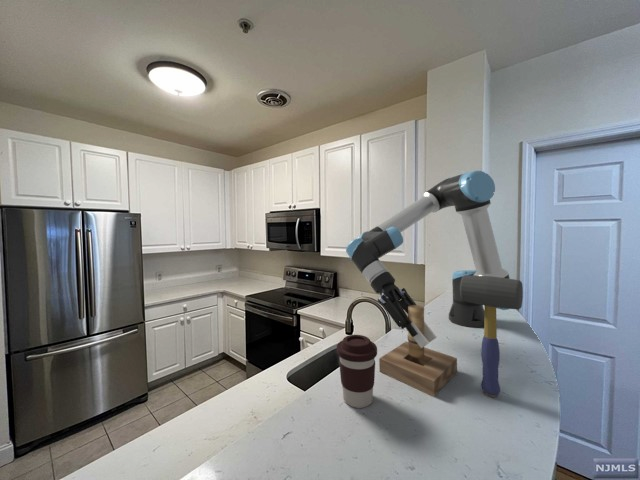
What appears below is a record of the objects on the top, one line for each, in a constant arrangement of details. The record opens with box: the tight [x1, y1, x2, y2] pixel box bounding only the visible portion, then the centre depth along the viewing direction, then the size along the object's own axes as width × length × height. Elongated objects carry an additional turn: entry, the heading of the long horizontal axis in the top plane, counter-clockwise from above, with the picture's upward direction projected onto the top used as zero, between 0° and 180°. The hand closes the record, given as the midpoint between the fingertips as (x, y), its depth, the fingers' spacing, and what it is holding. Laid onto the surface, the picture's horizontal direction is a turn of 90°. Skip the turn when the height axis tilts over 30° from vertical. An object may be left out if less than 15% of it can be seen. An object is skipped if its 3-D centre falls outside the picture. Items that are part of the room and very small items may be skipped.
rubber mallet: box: [460, 275, 524, 398], centre depth 62 cm, size 12×8×30 cm, turn 45°
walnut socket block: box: [378, 340, 458, 398], centre depth 74 cm, size 16×16×4 cm
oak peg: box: [407, 304, 425, 358], centre depth 73 cm, size 5×5×14 cm
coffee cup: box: [336, 334, 378, 409], centre depth 62 cm, size 10×10×15 cm
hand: (429, 342), depth 70 cm, fingers closed on oak peg, 4 cm apart
